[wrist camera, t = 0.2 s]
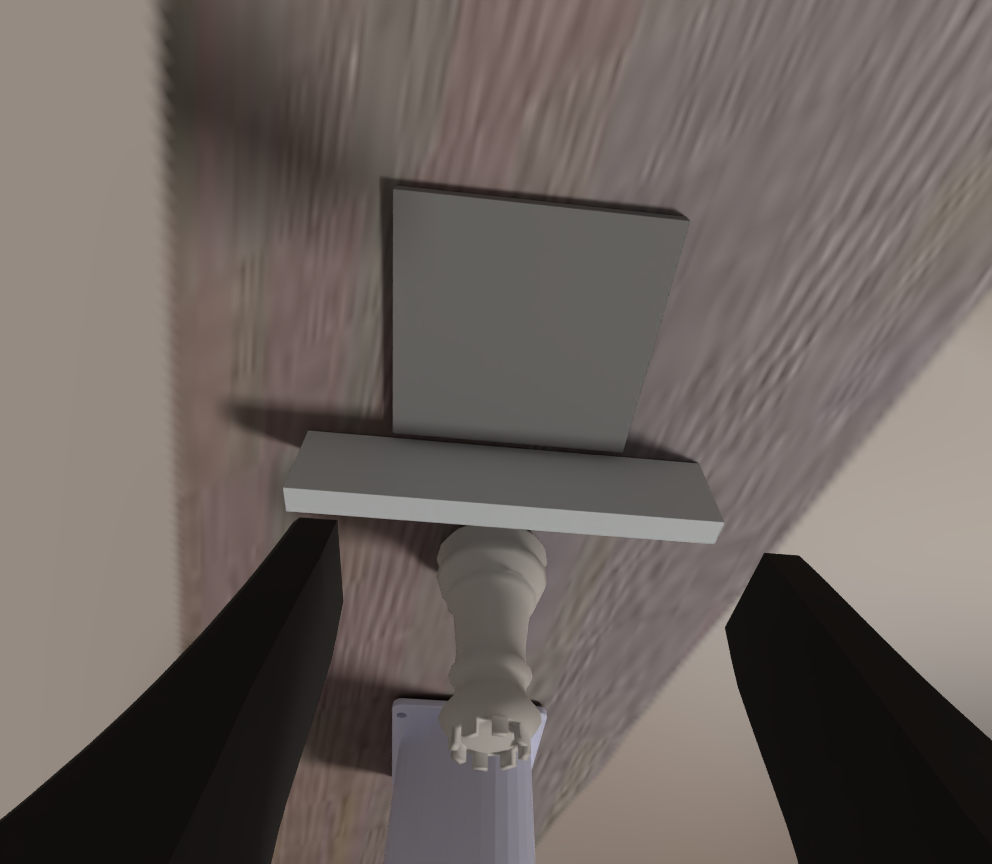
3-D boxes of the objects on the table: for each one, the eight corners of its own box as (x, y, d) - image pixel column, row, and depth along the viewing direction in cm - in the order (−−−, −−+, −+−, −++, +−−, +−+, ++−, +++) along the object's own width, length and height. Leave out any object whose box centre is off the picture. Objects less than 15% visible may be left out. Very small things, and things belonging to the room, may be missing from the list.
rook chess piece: (420, 527, 24) (390, 727, 17) (528, 501, 23) (539, 701, 16) (460, 596, 26) (447, 793, 20) (558, 575, 25) (579, 773, 19)
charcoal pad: (621, 445, 21) (622, 452, 21) (394, 426, 21) (393, 432, 20) (686, 216, 16) (690, 221, 16) (394, 184, 16) (392, 188, 16)
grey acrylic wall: (690, 484, 22) (714, 544, 20) (310, 452, 21) (286, 510, 19) (699, 463, 22) (724, 522, 19) (308, 430, 21) (282, 487, 18)
